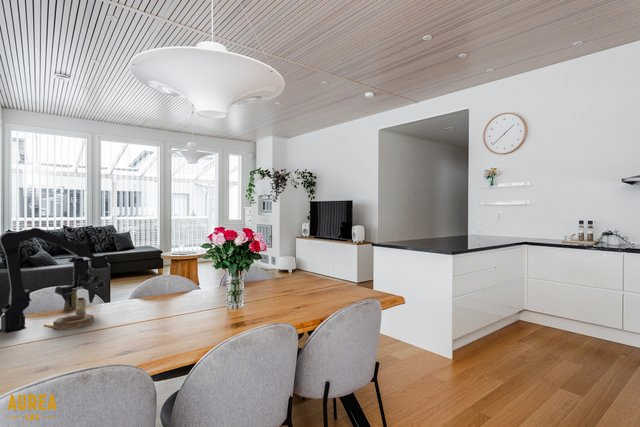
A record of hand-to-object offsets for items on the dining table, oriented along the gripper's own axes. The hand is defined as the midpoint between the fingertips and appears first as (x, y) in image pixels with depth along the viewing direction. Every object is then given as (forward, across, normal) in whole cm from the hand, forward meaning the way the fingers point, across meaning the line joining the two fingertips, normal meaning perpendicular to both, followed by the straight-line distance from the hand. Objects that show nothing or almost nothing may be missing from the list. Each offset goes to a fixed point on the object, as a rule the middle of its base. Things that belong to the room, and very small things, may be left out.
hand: (80, 305), depth 156 cm
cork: (+6, +8, +20) cm, 22 cm away
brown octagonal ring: (+5, -8, -8) cm, 12 cm away
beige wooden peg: (+5, 0, 0) cm, 5 cm away
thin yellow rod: (+5, -14, -2) cm, 15 cm away
